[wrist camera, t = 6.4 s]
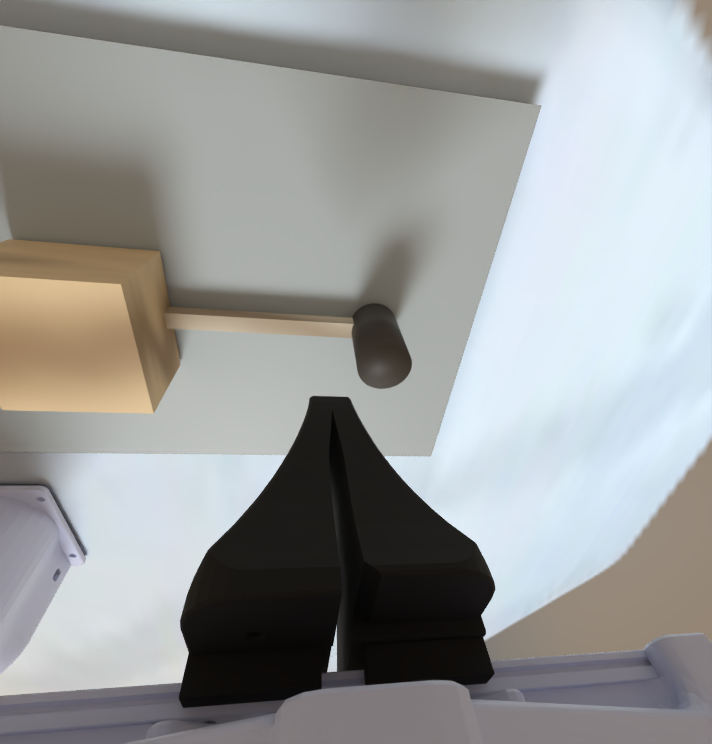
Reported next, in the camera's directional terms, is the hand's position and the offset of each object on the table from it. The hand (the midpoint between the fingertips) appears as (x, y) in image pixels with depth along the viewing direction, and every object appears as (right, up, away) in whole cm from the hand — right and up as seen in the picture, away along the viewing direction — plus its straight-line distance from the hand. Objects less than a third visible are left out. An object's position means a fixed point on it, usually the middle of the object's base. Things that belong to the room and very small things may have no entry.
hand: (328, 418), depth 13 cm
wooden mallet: (-6, +4, +5) cm, 9 cm away
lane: (-11, +5, +6) cm, 14 cm away
